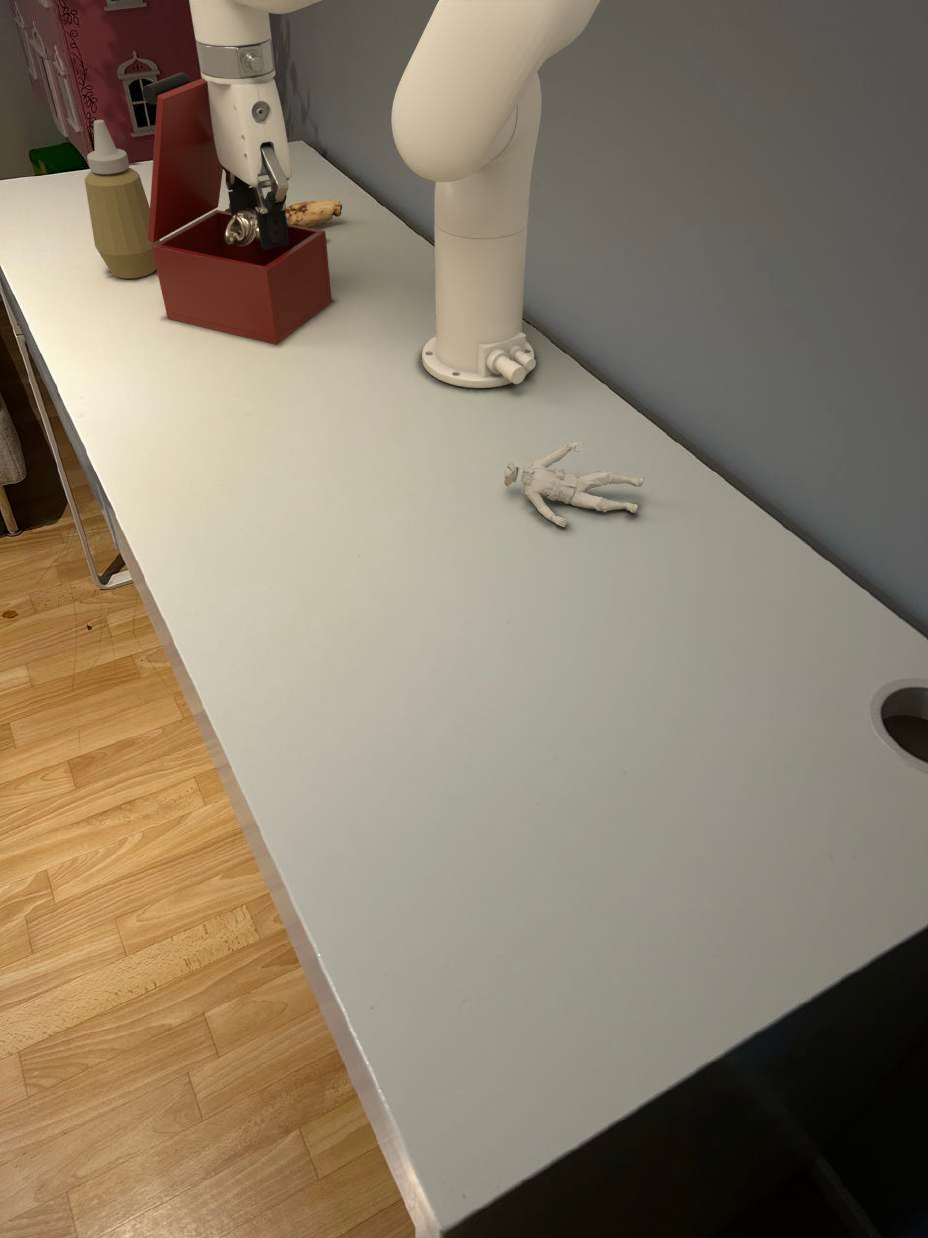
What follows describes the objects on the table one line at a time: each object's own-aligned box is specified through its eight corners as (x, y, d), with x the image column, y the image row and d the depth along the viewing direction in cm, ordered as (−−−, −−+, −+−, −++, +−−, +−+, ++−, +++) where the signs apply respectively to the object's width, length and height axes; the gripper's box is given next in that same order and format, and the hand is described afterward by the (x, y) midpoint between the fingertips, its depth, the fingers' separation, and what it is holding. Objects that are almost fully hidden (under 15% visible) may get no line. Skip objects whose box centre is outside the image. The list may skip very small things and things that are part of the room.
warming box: (332, 301, 117) (325, 230, 111) (276, 344, 108) (266, 270, 102) (228, 278, 121) (216, 209, 115) (167, 318, 113) (151, 245, 107)
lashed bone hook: (231, 260, 127) (357, 237, 132) (225, 225, 123) (354, 203, 128) (215, 233, 132) (336, 212, 138) (209, 199, 129) (333, 179, 134)
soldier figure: (631, 543, 84) (506, 509, 81) (611, 546, 88) (491, 514, 86) (650, 459, 84) (526, 422, 81) (628, 467, 89) (510, 432, 86)
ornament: (251, 259, 104) (246, 226, 101) (215, 242, 107) (209, 209, 105) (307, 239, 108) (304, 207, 106) (270, 223, 112) (266, 192, 109)
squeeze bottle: (174, 259, 126) (143, 112, 113) (153, 285, 120) (119, 132, 107) (115, 256, 126) (79, 109, 114) (92, 281, 120) (51, 130, 108)
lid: (235, 70, 103) (197, 48, 103) (163, 99, 94) (122, 74, 95) (218, 207, 115) (184, 187, 115) (153, 243, 107) (116, 221, 107)
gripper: (308, 72, 91) (325, 254, 104) (235, 37, 102) (258, 206, 114) (237, 83, 88) (263, 269, 101) (169, 45, 99) (200, 218, 111)
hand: (260, 234), depth 107 cm, fingers closed on ornament, 6 cm apart
